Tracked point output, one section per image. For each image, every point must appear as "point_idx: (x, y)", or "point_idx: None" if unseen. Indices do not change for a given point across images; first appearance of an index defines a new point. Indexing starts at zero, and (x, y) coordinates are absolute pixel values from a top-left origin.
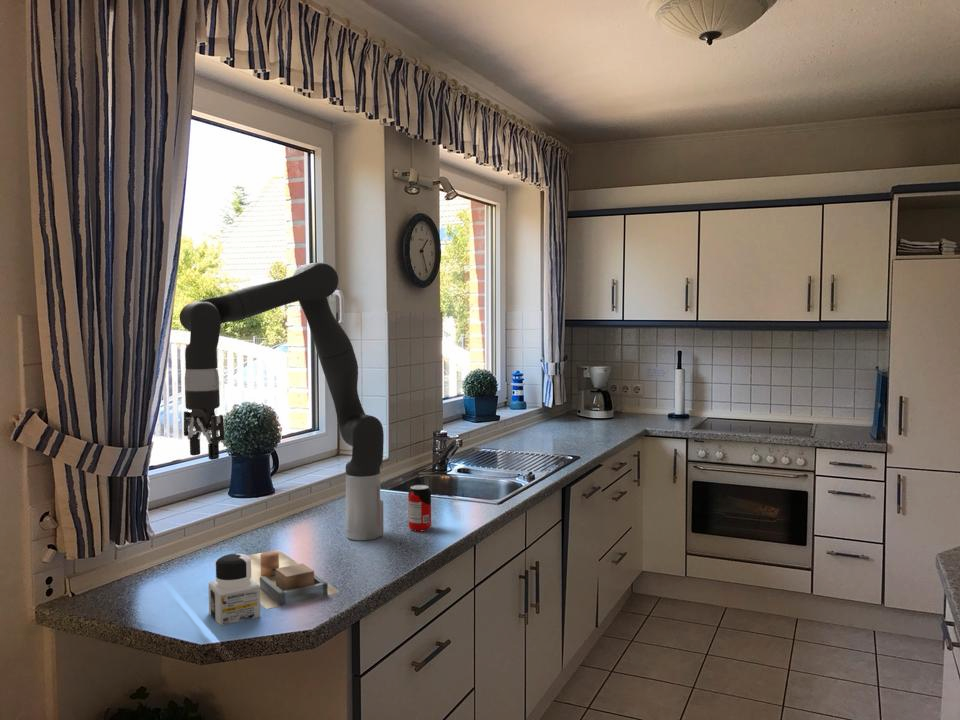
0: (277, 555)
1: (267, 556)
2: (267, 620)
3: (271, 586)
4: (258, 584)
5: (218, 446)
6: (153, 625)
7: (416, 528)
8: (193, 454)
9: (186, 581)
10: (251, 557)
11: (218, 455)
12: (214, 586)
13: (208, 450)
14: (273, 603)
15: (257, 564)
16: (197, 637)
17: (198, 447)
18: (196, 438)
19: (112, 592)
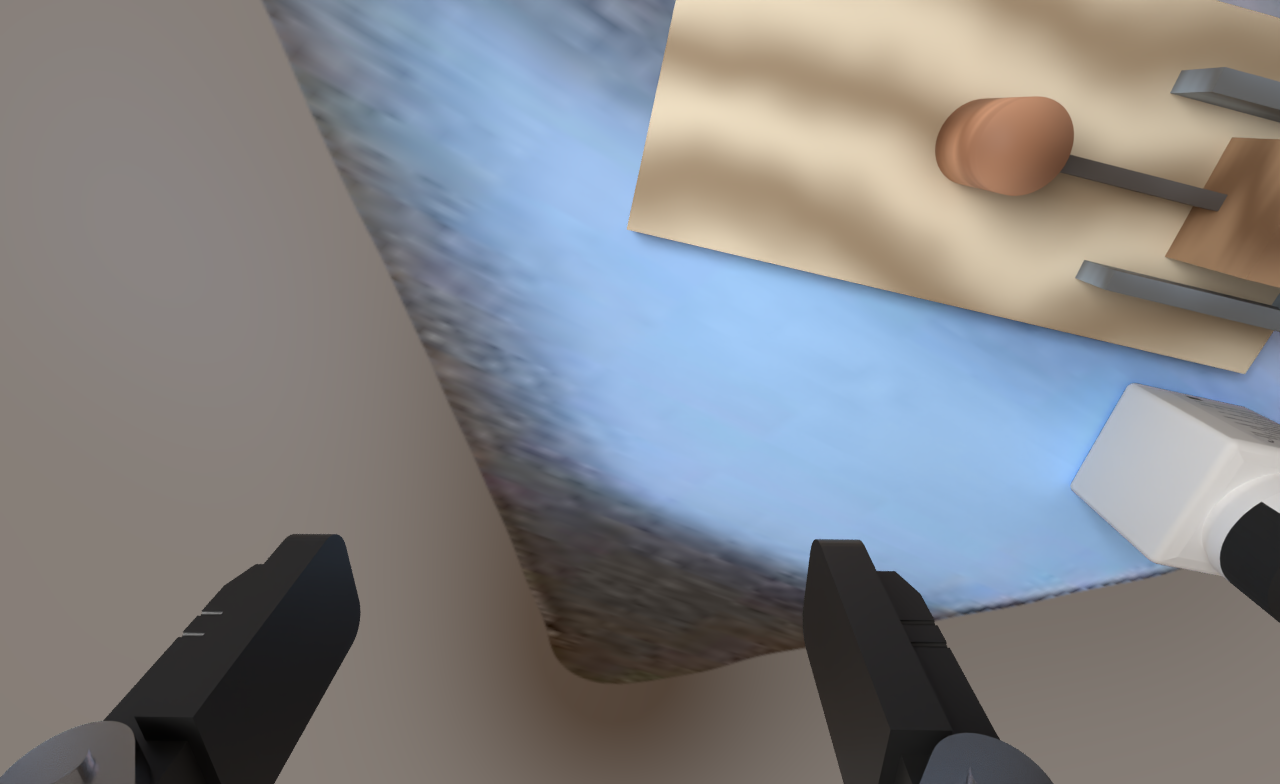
0: (1069, 124)
1: (1045, 179)
2: (1247, 378)
3: (1233, 320)
4: (1035, 256)
5: (975, 701)
6: (951, 588)
7: None
8: (352, 611)
9: (694, 372)
10: (708, 62)
11: (910, 588)
12: (1211, 572)
13: (833, 737)
14: (1235, 329)
15: (823, 106)
16: (1131, 556)
17: (289, 616)
18: (184, 779)
19: (609, 558)
